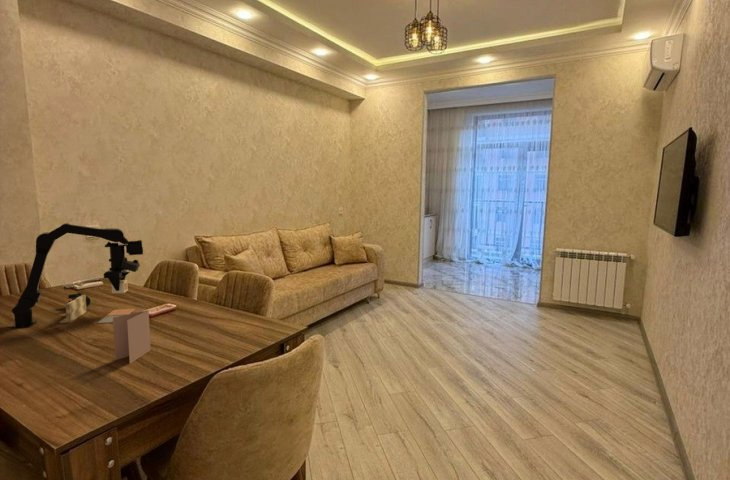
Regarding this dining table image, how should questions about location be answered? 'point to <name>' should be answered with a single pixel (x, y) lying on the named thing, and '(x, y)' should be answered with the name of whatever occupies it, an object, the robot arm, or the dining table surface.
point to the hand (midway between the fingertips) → (119, 289)
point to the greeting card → (131, 335)
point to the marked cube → (121, 287)
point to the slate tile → (107, 319)
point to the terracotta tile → (121, 312)
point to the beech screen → (75, 309)
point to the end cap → (78, 296)
